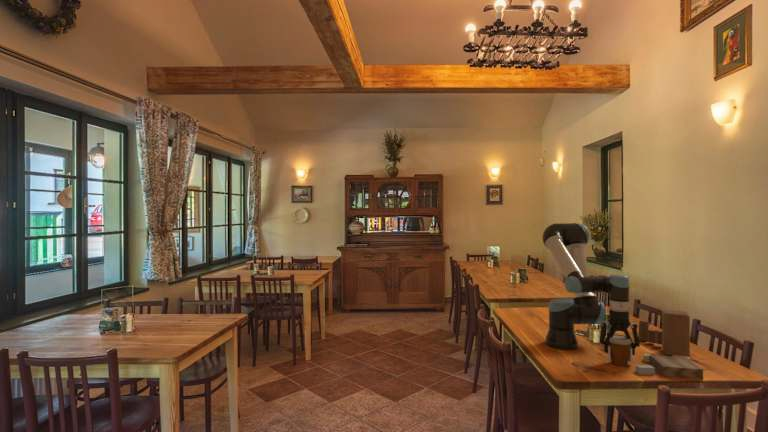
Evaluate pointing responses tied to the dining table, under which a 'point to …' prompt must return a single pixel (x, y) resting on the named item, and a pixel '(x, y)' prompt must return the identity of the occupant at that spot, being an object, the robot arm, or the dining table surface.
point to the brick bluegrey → (645, 369)
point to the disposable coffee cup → (619, 349)
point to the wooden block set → (649, 333)
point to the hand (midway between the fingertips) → (619, 360)
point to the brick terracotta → (680, 356)
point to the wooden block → (675, 333)
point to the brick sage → (647, 358)
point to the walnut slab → (676, 367)
